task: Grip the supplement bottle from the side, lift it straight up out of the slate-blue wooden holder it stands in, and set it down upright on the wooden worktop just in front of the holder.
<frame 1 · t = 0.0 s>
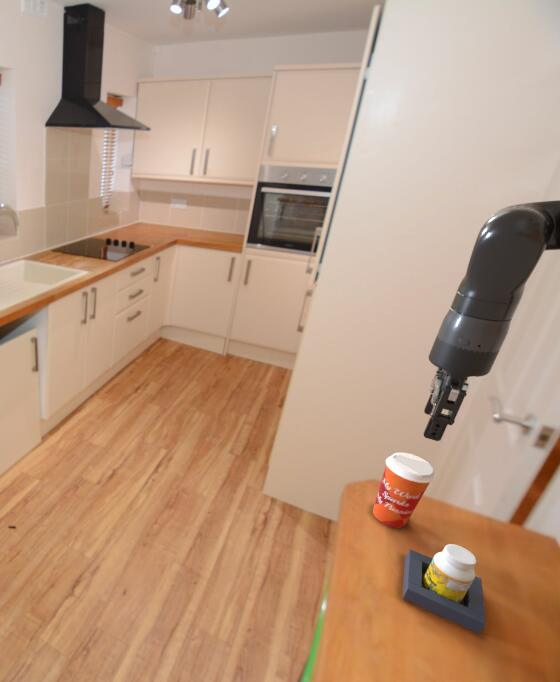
hand: (431, 425, 77), 27 cm above the countertop, tool pointing down, fingers open, 8 cm apart
bottle holder: (439, 593, 78), on the countertop
supplement bottle: (439, 594, 78), resting in bottle holder
paper cup: (389, 518, 94), on the countertop
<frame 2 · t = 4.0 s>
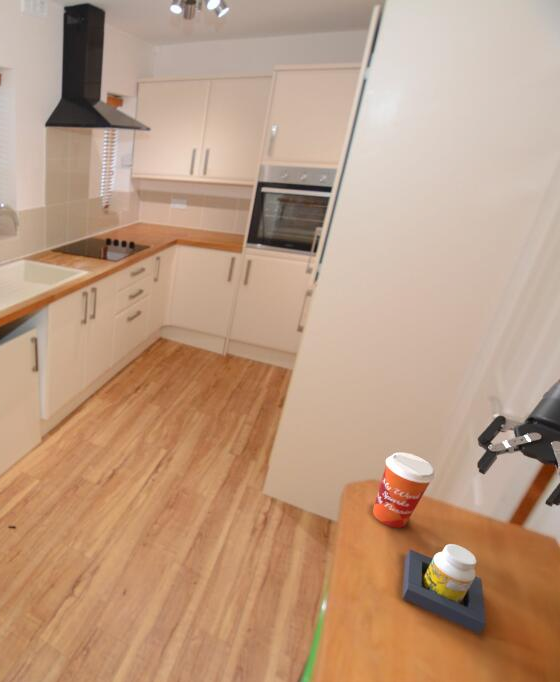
hand: (513, 487, 75), 19 cm above the countertop, tool tilted 45°, fingers open, 8 cm apart
nothing on the countertop moved.
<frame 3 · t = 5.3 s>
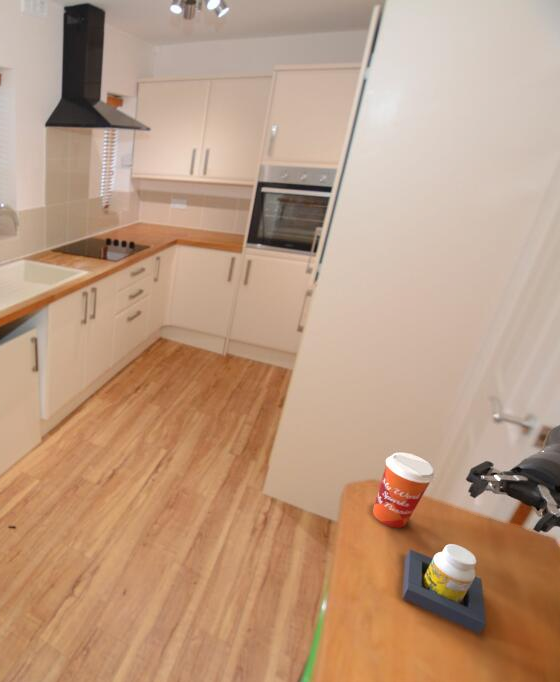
hand: (504, 509, 77), 14 cm above the countertop, tool horizontal, fingers open, 8 cm apart
nothing on the countertop moved.
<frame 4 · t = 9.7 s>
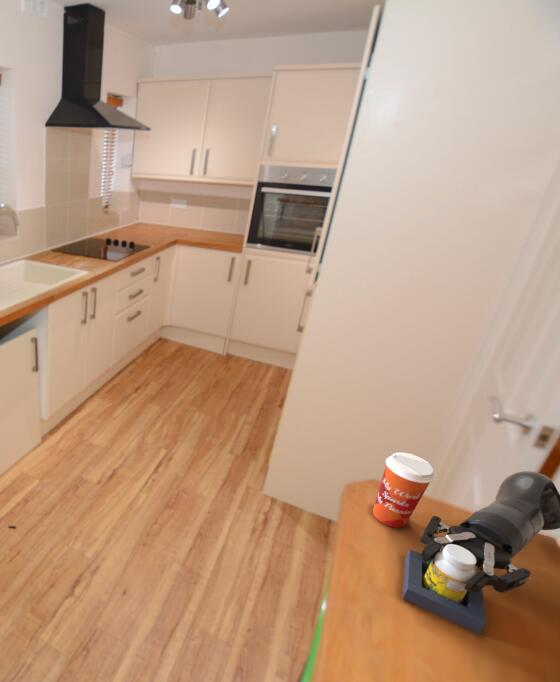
hand: (446, 571, 74), 7 cm above the countertop, tool horizontal, fingers closed on supplement bottle, 5 cm apart
supplement bottle: (439, 594, 78), resting in bottle holder, touching gripper
everything else where it was.
when the fingers open (7 cm above the countertop, at t = 18.8 s): supplement bottle stays where it is, on the countertop.
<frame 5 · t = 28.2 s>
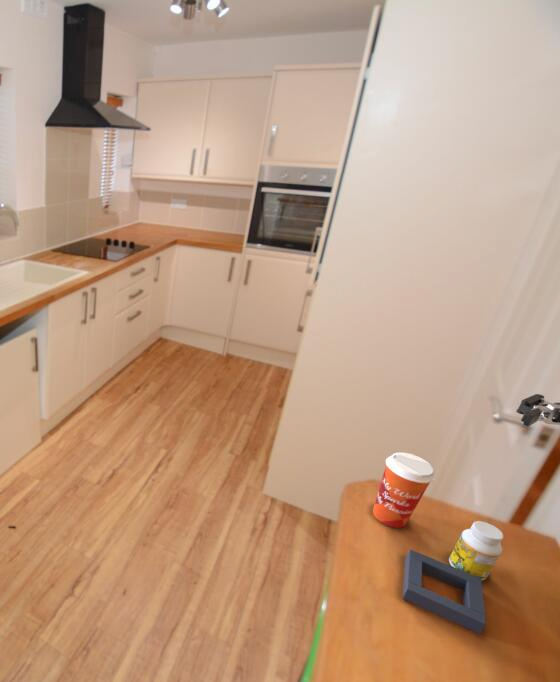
supplement bottle: (466, 569, 83), on the countertop
everything else where it was.
at the end: supplement bottle 0.1 cm from the target spot, on the countertop; supplement bottle touching countertop; supplement bottle tilted 0° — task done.
